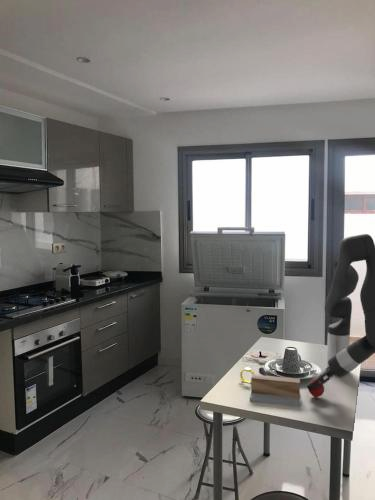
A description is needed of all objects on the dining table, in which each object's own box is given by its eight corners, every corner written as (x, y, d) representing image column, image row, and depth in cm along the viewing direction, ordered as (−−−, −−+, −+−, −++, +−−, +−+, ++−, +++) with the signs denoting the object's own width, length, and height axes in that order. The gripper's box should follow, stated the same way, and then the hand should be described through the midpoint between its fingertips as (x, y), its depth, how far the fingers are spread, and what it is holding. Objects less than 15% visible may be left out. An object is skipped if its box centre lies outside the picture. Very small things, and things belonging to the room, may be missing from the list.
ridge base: (253, 387, 172) (253, 384, 172) (299, 392, 168) (299, 389, 167) (249, 400, 161) (249, 397, 161) (299, 406, 156) (299, 403, 156)
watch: (255, 382, 178) (256, 369, 177) (252, 385, 175) (253, 371, 174) (241, 379, 181) (242, 365, 180) (239, 381, 178) (240, 367, 177)
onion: (325, 396, 164) (326, 376, 163) (321, 402, 159) (322, 381, 158) (310, 393, 167) (310, 373, 166) (306, 398, 162) (306, 378, 161)
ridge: (252, 389, 168) (252, 374, 167) (299, 394, 163) (299, 378, 163) (251, 392, 165) (251, 377, 164) (299, 398, 160) (299, 382, 159)
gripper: (342, 348, 163) (312, 370, 170) (331, 359, 151) (299, 382, 159) (356, 364, 160) (325, 386, 168) (346, 377, 149) (313, 400, 156)
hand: (312, 384), depth 163 cm, fingers open, 8 cm apart
